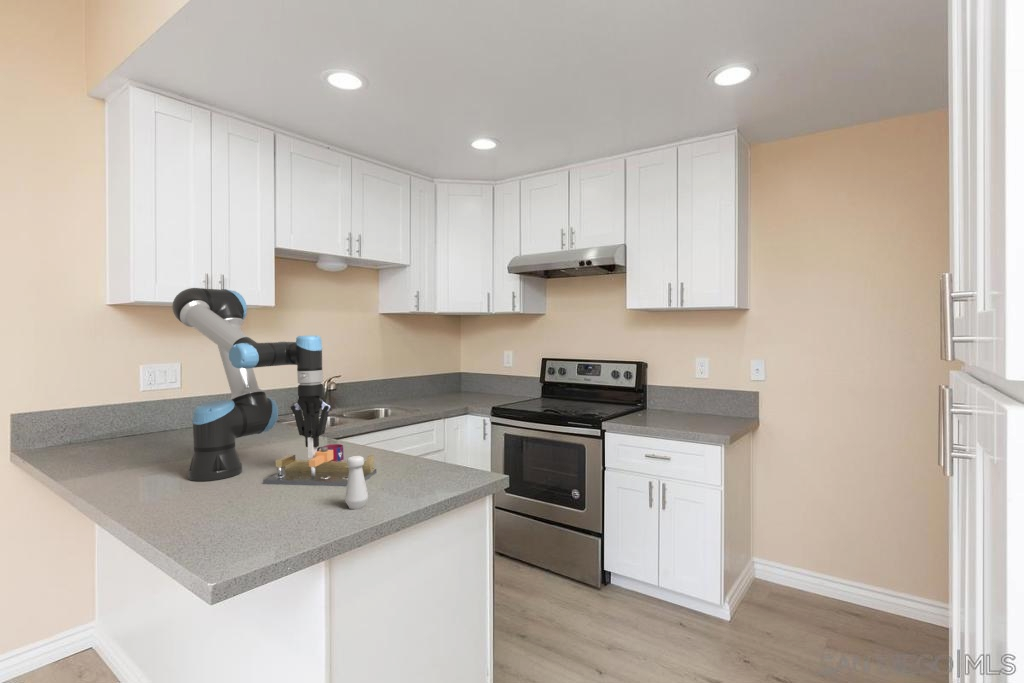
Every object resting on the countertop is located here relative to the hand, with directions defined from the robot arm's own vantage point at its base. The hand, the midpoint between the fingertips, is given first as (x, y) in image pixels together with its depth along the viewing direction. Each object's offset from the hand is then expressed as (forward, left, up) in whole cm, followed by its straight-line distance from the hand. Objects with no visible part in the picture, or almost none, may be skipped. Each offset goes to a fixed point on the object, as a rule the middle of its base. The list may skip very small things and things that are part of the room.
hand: (312, 457), depth 164 cm
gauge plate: (+5, -4, -6) cm, 8 cm away
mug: (0, +10, -6) cm, 12 cm away
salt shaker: (+27, -27, -6) cm, 39 cm away
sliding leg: (+4, -3, -4) cm, 6 cm away
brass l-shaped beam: (+5, -3, -4) cm, 8 cm away
